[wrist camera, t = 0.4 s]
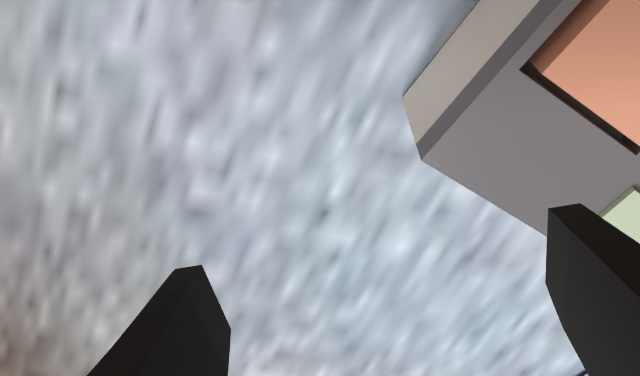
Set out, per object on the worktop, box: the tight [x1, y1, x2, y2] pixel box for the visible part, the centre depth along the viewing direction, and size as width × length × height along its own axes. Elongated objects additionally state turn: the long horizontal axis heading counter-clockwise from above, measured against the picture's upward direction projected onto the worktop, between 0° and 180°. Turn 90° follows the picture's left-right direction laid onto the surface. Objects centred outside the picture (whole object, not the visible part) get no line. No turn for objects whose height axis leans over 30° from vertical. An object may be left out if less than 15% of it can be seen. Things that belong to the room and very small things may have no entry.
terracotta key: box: [528, 0, 640, 146], centre depth 14 cm, size 4×4×2 cm
